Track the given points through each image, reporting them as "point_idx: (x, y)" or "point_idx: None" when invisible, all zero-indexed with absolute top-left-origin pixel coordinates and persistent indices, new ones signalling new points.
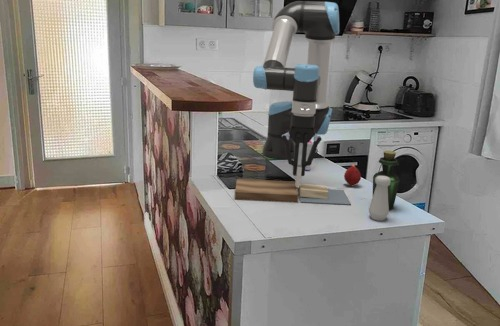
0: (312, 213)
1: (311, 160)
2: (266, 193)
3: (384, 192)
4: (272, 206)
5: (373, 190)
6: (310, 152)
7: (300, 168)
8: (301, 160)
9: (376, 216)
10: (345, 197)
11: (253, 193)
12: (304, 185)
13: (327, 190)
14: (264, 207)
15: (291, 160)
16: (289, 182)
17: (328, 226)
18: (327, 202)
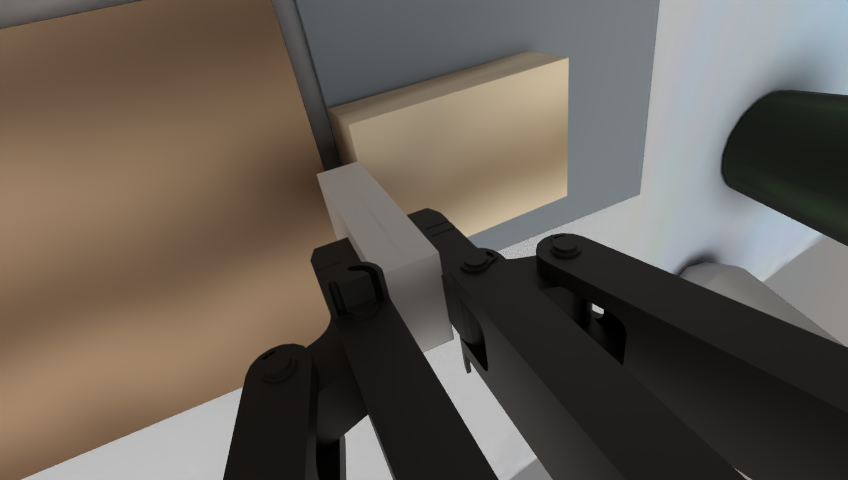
0: (450, 383)
1: (617, 349)
2: (133, 428)
3: None
4: (226, 427)
5: (809, 199)
6: (706, 394)
7: (433, 335)
8: (474, 307)
9: None
10: (639, 91)
11: (19, 476)
12: (402, 158)
13: (565, 167)
14: (186, 463)
15: (340, 469)
16: (213, 42)
17: (508, 446)
18: (528, 231)
